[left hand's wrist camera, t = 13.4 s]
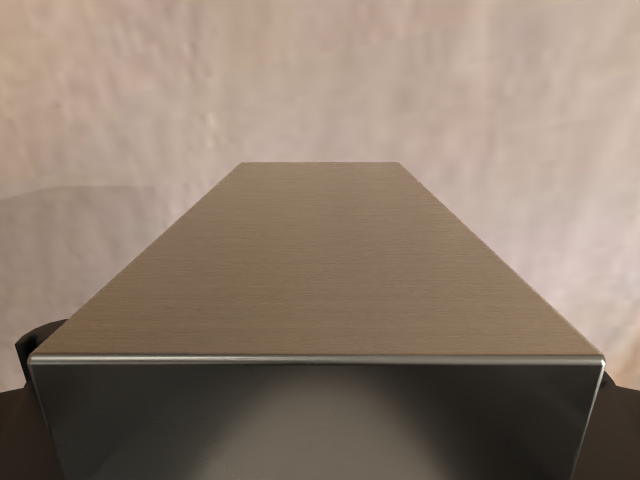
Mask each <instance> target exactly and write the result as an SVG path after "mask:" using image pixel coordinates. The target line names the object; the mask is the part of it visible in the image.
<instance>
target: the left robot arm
mask: <svg viewBox="0 0 640 480" xmlns="http://www.w3.org/2000/svg"><path fill="white" fill-rule="evenodd" d="M67 320H68V319H64V320H60V321H56V322H51V323H48V324H46V325H43V326H41V327H38V328H35V329H34V330H32V331H30V332H29V333H27V334H25V335H24V336H22V337H21V338H20V339H19V340H18V341H17V342H16V343H15V347H16V350H17V353H18V356H19V360H20V363H21V366H22V369H23V372H24V375H25V378H26V384H25V386H24V388H21V389H16V390H11V391H6V392H2V393H0V480H63V478H62V475H61V472H60V468H59V465H58V462H57V459H56V455H55V452H54V449H53V446H52V442H51V439H50V436H49V433H48V430H47V426H46V423H45V420H44V417H43V413H42V410H41V407H40V404H39V401H38V397H37V394H36V391H35V388H34V384H33V381H32V378H31V375H30V371H29V368H28V365H27V361H28V357H29V355H30V354H31V353H32V352H33V351H34V350H35V349H36V348H37V347H38V346H39V345H41V344H42V343H43V342H44V341H45V340H46V339H47V338H48V337H49V336H51V335H52V334H53V333H54V332H55V331H56V330H57V329H58V328H59V327H60V326H62V325H63V324H64V323H65V322H66V321H67ZM571 480H640V391H638V390H633V389H628V388H623V387H619V386H616V385H615V383H614V381H613V380H612V379H611V378H610V376H609V375H608V374H607V373H606V372H605V371H604V373H603V376H602V379H601V383H600V386H599V389H598V393H597V396H596V399H595V403H594V406H593V409H592V413H591V416H590V419H589V423H588V426H587V429H586V433H585V436H584V439H583V443H582V446H581V449H580V453H579V456H578V459H577V462H576V466H575V469H574V472H573V476H572V479H571Z"/></svg>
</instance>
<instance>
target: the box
mask: <svg viewBox="0 0 640 480" xmlns="http://www.w3.org/2000/svg"><path fill="white" fill-rule="evenodd" d="M27 365H28V368H29V371H30V375H31V378H32V381H33V384H34V388H35V391H36V394H37V397H38V401H39V404H40V407H41V410H42V413H43V417H44V420H45V423H46V426H47V430H48V433H49V436H50V439H51V442H52V446H53V449H54V452H55V455H56V459H57V462H58V465H59V468H60V472H61V475H62V478H63V480H571V479H572V476H573V472H574V469H575V466H576V462H577V459H578V456H579V453H580V449H581V446H582V443H583V439H584V436H585V433H586V429H587V426H588V423H589V419H590V416H591V413H592V409H593V406H594V403H595V399H596V396H597V393H598V389H599V386H600V383H601V379H602V376H603V373H604V369H605V366H606V361H605V357H604V355H603V354H602V353H601V352H600V351H599V350H598V349H597V348H595V347H594V346H593V345H592V344H591V343H590V342H589V341H588V340H587V339H586V338H585V337H584V336H583V335H582V334H581V333H580V332H578V331H577V330H576V329H575V328H574V327H573V326H572V325H571V324H570V323H569V322H568V321H567V320H566V319H565V318H564V317H562V316H561V315H560V314H559V313H558V312H557V311H556V310H555V309H554V308H553V307H552V306H551V305H550V304H549V303H548V302H547V301H545V300H544V299H543V298H542V297H541V296H540V295H539V294H538V293H537V292H536V291H535V290H534V289H533V288H532V287H531V286H529V285H528V284H527V283H526V282H525V281H524V280H523V279H522V278H521V277H520V276H519V275H518V274H517V273H516V272H515V271H514V270H512V269H511V268H510V267H509V266H508V265H507V264H506V263H505V262H504V261H503V260H502V259H501V258H500V257H499V256H498V255H497V254H495V253H494V252H493V251H492V250H491V249H490V248H489V247H488V246H487V245H486V244H485V243H484V242H483V241H482V240H481V239H479V238H478V237H477V236H476V235H475V234H474V233H473V232H472V231H471V230H470V229H469V228H468V227H467V226H466V225H465V224H464V223H462V222H461V221H460V220H459V219H458V218H457V217H456V216H455V215H454V214H453V213H452V212H451V211H450V210H449V209H448V208H446V207H445V206H444V205H443V204H442V203H441V202H440V201H439V200H438V199H437V198H436V197H435V196H434V195H433V194H432V193H431V192H429V191H428V190H427V189H426V188H425V187H424V186H423V185H422V184H421V183H420V182H419V181H418V180H417V179H416V178H415V177H414V176H412V175H411V174H410V173H409V172H408V171H407V170H406V169H405V168H404V167H403V166H402V165H401V164H400V163H398V162H242V163H240V164H239V165H238V166H237V167H236V168H235V169H233V170H232V171H231V172H230V173H229V174H228V175H227V176H226V177H225V178H224V179H222V180H221V181H220V182H219V183H218V184H217V185H216V186H215V187H214V188H213V189H211V190H210V191H209V192H208V193H207V194H206V195H205V196H204V197H203V198H201V199H200V200H199V201H198V202H197V203H196V204H195V205H194V206H193V207H192V208H190V209H189V210H188V211H187V212H186V213H185V214H184V215H183V216H182V217H181V218H179V219H178V220H177V221H176V222H175V223H174V224H173V225H172V226H171V227H170V228H168V229H167V230H166V231H165V232H164V233H163V234H162V235H161V236H160V237H159V238H157V239H156V240H155V241H154V242H153V243H152V244H151V245H150V246H149V247H147V248H146V249H145V250H144V251H143V252H142V253H141V254H140V255H139V256H138V257H136V258H135V259H134V260H133V261H132V262H131V263H130V264H129V265H128V266H127V267H125V268H124V269H123V270H122V271H121V272H120V273H119V274H118V275H117V276H116V277H114V278H113V279H112V280H111V281H110V282H109V283H108V284H107V285H106V286H105V287H103V288H102V289H101V290H100V291H99V292H98V293H97V294H96V295H95V296H93V297H92V298H91V299H90V300H89V301H88V302H87V303H86V304H85V305H84V306H82V307H81V308H80V309H79V310H78V311H77V312H76V313H75V314H74V315H73V316H71V317H70V318H69V319H68V320H67V321H66V322H65V323H64V324H63V325H62V326H60V327H59V328H58V329H57V330H56V331H55V332H54V333H53V334H52V335H51V336H49V337H48V338H47V339H46V340H45V341H44V342H43V343H42V344H41V345H39V346H38V347H37V348H36V349H35V350H34V351H33V352H32V353H31V354H30V355H29V357H28V361H27Z"/></svg>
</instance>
